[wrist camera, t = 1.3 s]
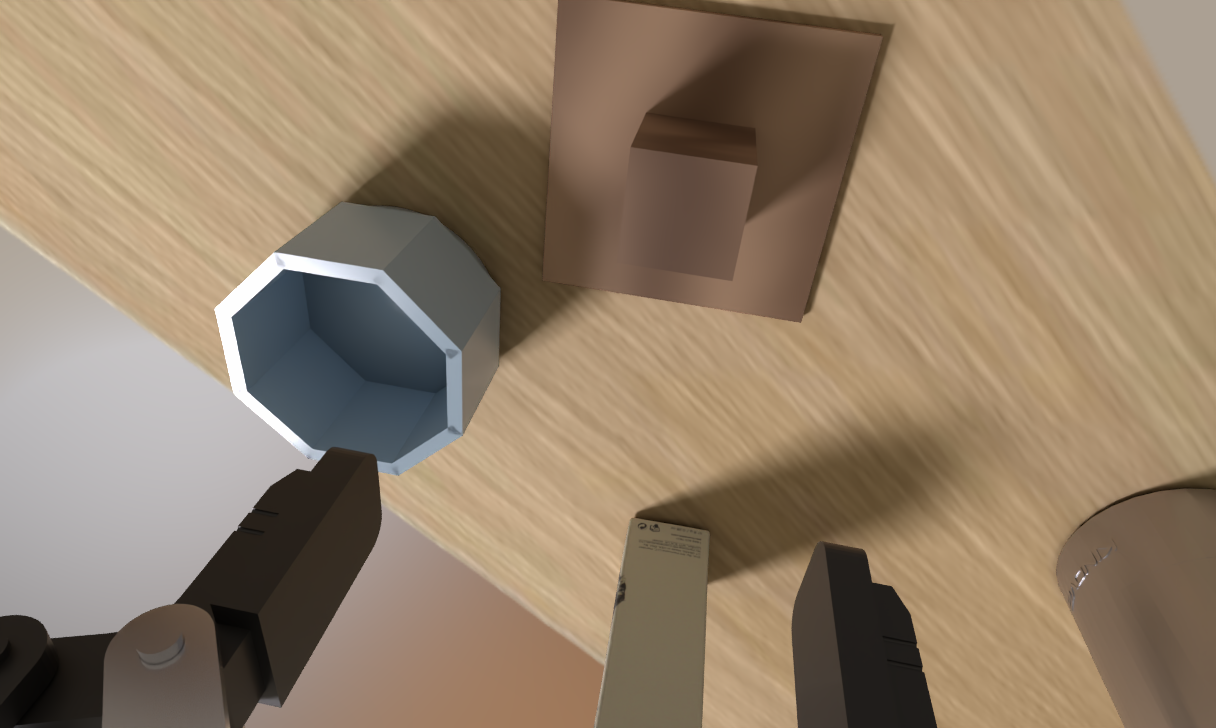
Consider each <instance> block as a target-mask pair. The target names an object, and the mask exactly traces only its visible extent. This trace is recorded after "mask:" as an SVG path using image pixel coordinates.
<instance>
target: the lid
mask: <svg viewBox="0 0 1216 728" xmlns="http://www.w3.org/2000/svg"><path fill="white" fill-rule="evenodd" d="M882 39H883V36H882V35H881V34H873V33H866V32H858V31H850V30H843V29H835V28H828V27H820V26H813V25H805V24H798V23H790V22H782V21H775V20H767V19H760V18H752V17H745V16H737V15H730V14H722V13H714V12H707V11H699V10H692V9H684V8H677V7H669V6H662V5H654V4H646V3H639V2H631V1H624V0H558V13H557V30H556V48H555V66H554V84H553V101H552V119H551V137H550V154H549V172H548V190H547V207H546V225H545V243H544V260H543V278H542V280H543V281H549V282H555V283H561V284H568V285H574V286H580V287H586V288H592V289H598V290H604V291H610V292H617V293H623V294H629V295H635V296H641V297H647V298H653V299H659V300H666V301H672V302H678V303H684V304H690V305H696V306H702V307H708V308H715V309H721V310H727V311H733V312H739V313H745V314H751V315H758V316H764V317H770V318H776V319H782V320H788V321H794V322H800V323H801V321H802V318H803V314H804V311H805V307H806V304H807V300H808V297H809V293H810V290H811V286H812V283H813V279H814V276H815V272H816V269H817V265H818V262H819V258H820V255H821V251H822V248H823V244H824V241H825V237H826V234H827V231H828V227H829V224H830V220H831V217H832V213H833V210H834V206H835V203H836V199H837V196H838V192H839V189H840V185H841V182H842V178H843V175H844V171H845V168H846V164H847V161H848V157H849V154H850V150H851V147H852V143H853V140H854V136H855V133H856V129H857V126H858V123H859V119H860V116H861V112H862V109H863V105H864V102H865V98H866V95H867V91H868V88H869V84H870V81H871V77H872V74H873V70H874V67H875V63H876V60H877V56H878V53H879V49H880V46H881V42H882Z"/></svg>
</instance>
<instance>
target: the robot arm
mask: <svg viewBox="0 0 1216 728" xmlns="http://www.w3.org/2000/svg"><path fill="white" fill-rule="evenodd" d="M381 520H382V510H381V498H380V487H379V476H378V465H377V459H376V457H375V455H374V454H371V453H366V452H360V451H355V450H350V449H345V448H339V447H331V448H330V449H328V450H327V451H326V452H325V454H324V455H323V456H322V458H321V459H320V460H319V462H318V463H317V464H316V466H315V467H314V468H313V469H312V471H311V472H310V471H305V470H300V469H296V470H295V471H294V472H292V473H290V474H289V475H287V476H286V477H284V478H282V479H281V480H279V481H278V482H276V483H275V484H273V485H272V486H270V488H269V489H268V490H267V491H266V492H265V494H264V495H263V496H262V497H261V499H260V500H259V501H258V502H257V504H256V505H255V506H254V507H253V510H252V512H251V513H248V515H247V516H246V517H245V518H244V519H243V521H242V522H241V523H240V524H239V526H238V529H237V531H234V532H233V533H232V534H231V535H230V537H229V538H228V539H227V540H226V542H225V543H224V544H223V545H222V547H221V548H220V549H219V550H218V551H217V553H216V554H215V555H214V556H213V558H212V559H211V560H210V561H209V562H208V564H207V565H206V566H205V567H204V569H203V570H202V571H201V572H200V574H199V575H198V576H197V577H196V578H195V580H194V581H193V582H192V583H191V585H190V586H189V587H188V588H187V589H186V591H185V592H184V593H183V594H182V596H181V597H180V598H179V599H178V600H177V601H176V602H175V603H174V604H172V605H166V606H162V607H158V608H155V609H152V610H150V611H148V612H145V613H143V614H141V615H140V616H138V617H136V618H134V619H133V620H132V621H130V622H129V623H128V624H126V625H125V626H124V627H123V628H122V629H121V630H120V631H119V632H115V633H107V634H96V635H85V636H74V637H63V638H50V637H49V635H48V633H47V631H46V629H45V627H44V625H43V624H41V622H39V621H38V620H36V619H34V618H32V617H28V616H21V615H10V616H2V617H0V728H245V725H244V724H245V723H246V721H247V720H248V718H249V716H250V715H251V713H252V711H253V710H254V708H255V706H256V704H257V703H262V704H266V705H271V706H275V707H280V708H281V707H282V705H283V704H284V702H285V700H286V698H287V697H288V695H289V693H290V691H291V690H292V688H293V686H294V684H295V683H296V681H297V679H298V677H299V676H300V674H301V672H302V670H303V669H304V667H305V665H306V664H307V662H308V660H309V658H310V657H311V655H312V653H313V651H314V650H315V648H316V646H317V644H318V643H319V641H320V639H321V638H322V636H323V634H324V632H325V631H326V629H327V627H328V625H329V624H330V622H331V620H332V618H333V617H334V615H335V613H336V611H337V610H338V608H339V606H340V604H341V603H342V601H343V599H344V597H345V596H346V594H347V592H348V591H349V589H350V587H351V585H352V584H353V582H354V580H355V578H356V577H357V575H358V573H359V571H360V570H361V568H362V566H363V565H364V563H365V561H366V559H367V558H368V556H369V554H370V552H371V551H372V549H373V547H374V545H375V543H376V540H377V537H378V534H379V531H380V526H381ZM1056 575H1057V580H1058V585H1059V587H1060V590H1061V592H1062V594H1063V596H1064V598H1065V600H1066V602H1067V605H1068V607H1069V609H1070V611H1071V613H1072V615H1073V617H1074V619H1075V622H1076V624H1077V626H1078V628H1079V630H1080V632H1081V634H1082V636H1083V639H1084V641H1085V643H1086V645H1087V647H1088V649H1089V651H1090V654H1091V656H1092V659H1093V661H1094V663H1095V665H1096V667H1097V669H1098V671H1099V674H1100V676H1101V678H1102V680H1103V682H1104V684H1105V686H1106V688H1107V691H1108V693H1109V695H1110V697H1111V699H1112V701H1113V703H1114V706H1115V708H1116V710H1117V712H1118V714H1119V716H1120V718H1121V720H1122V723H1123V725H1124V727H1125V728H1216V490H1212V489H1187V488H1185V489H1175V490H1166V491H1159V492H1154V493H1150V494H1146V495H1142V496H1138V497H1134V498H1132V499H1129V500H1127V501H1124V502H1121V503H1119V504H1116V505H1114V506H1111V507H1110V508H1108V509H1106V510H1104V511H1103V512H1101V513H1099V514H1097V515H1096V516H1094V517H1092V518H1091V519H1090V520H1088V521H1087V522H1086V523H1085V524H1083V525H1082V526H1081V527H1080V528H1078V529H1077V530H1076V531H1075V532H1074V534H1073V535H1072V536H1071V537H1070V538H1069V540H1068V541H1067V542H1066V543H1065V545H1064V547H1063V549H1062V551H1061V553H1060V555H1059V557H1058V562H1057V569H1056ZM916 645H917V640H916V636H915V632H914V628H913V623H912V619H911V615H910V613H909V611H908V610H907V608H906V607H905V605H904V604H903V602H902V601H901V599H900V598H899V596H898V595H897V593H896V592H895V590H894V589H893V587H892V586H887V585H882V584H877V583H872V580H871V574H870V569H869V564H868V559H867V555H866V553H865V551H864V550H863V549H859V548H853V547H848V546H843V545H838V544H833V543H827V542H822V541H820V542H818V544H817V545H816V547H815V549H814V552H813V555H812V557H811V560H810V563H809V565H808V568H807V570H806V573H805V576H804V578H803V581H802V583H801V586H800V589H799V591H798V594H797V597H796V600H795V604H794V609H793V616H792V646H793V660H794V675H795V690H796V704H797V719H798V728H937V724H936V720H935V716H934V712H933V708H932V703H931V699H930V695H929V691H928V687H927V682H926V678H925V674H924V672H922V667H923V665H922V661H921V657H920V653H919V649H918V648H917V647H916Z"/></svg>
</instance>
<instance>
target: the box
mask: <svg viewBox="0 0 1216 728" xmlns="http://www.w3.org/2000/svg"><path fill="white" fill-rule="evenodd" d="M709 541H710V532H709V531H707V530H700V529H695V528H690V527H684V526H679V525H673V524H667V523H661V522H656V521H650V520H644V519H639V518H632V519H631V520H630V522H629V526H628V531H627V536H626V541H625V546H624V551H623V557H622V563H621V569H620V575H619V581H618V587H617V593H616V599H615V605H614V611H613V618H612V624H611V630H610V636H609V642H608V648H607V654H606V660H605V666H604V673H603V679H602V684H601V690H600V696H599V702H598V708H597V713H596V719H595V724H594V728H702V714H703V689H704V662H705V637H706V607H707V581H708V559H709Z"/></svg>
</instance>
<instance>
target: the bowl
mask: <svg viewBox="0 0 1216 728" xmlns="http://www.w3.org/2000/svg"><path fill="white" fill-rule="evenodd" d="M500 293H501V288H500V287H499V286H498V285H497V284H496V283H495V282H494V281H493V280H492V278H491V277H490V275H489V273H488V271H487V269H486V268H485V266H484V265H483V263H482V261H481V260H480V258H479V257H478V256H477V255H476V253H475V252H474V251H473V250H472V249H471V247H470V246H468V245H467V244H466V243H465V242H464V241H463V240H462V239H461V238H460V237H459V236H458V235H457V234H455V233H454V232H453V231H451V230H450V229H449V228H447V227H446V226H444V225H443V224H442V223H441V222H440V221H439V220H438V219H437V218H436V217H435V216H430V215H423V214H421V213H418V212H415V211H412V210H409V209H404V208H400V207H394V206H383V205H382V206H367V205H360V204H354V203H348V202H340V203H339V204H338V205H336V206H335V207H334V208H332V209H331V210H330V211H328V212H327V213H326V214H324V215H323V216H322V217H320V218H319V219H318V220H316V221H315V222H314V223H312V224H311V225H310V226H308V227H307V228H306V229H304V230H303V231H302V232H300V233H299V234H298V235H296V236H295V237H294V238H292V239H291V240H290V241H288V242H287V243H286V244H284V245H283V246H282V247H280V248H279V249H278V250H276V251H275V252H274V253H273V254H272V255H271V256H270V257H269V258H268V259H267V260H266V261H265V262H264V263H263V264H262V265H260V266H259V267H258V268H257V269H256V270H255V271H254V272H253V273H252V274H251V275H250V276H249V277H248V278H247V279H246V280H245V281H244V282H243V283H241V284H240V285H239V286H238V287H237V288H236V289H235V290H234V291H233V292H232V293H231V294H230V295H229V296H228V297H227V298H226V299H225V300H224V301H223V302H221V303H220V304H219V305H218V306H217V307H216V308H215V312H216V317H217V321H218V325H219V330H220V334H221V339H222V343H223V348H224V352H225V357H226V361H227V366H228V370H229V374H230V379H231V383H232V388H233V392H234V395H236V396H237V397H238V398H239V399H240V400H241V401H242V402H244V403H245V404H246V405H247V406H248V407H249V408H251V409H252V410H253V411H254V412H255V413H256V414H257V415H259V416H260V417H261V418H262V419H263V420H264V421H266V422H267V423H268V424H269V425H270V426H271V427H273V428H274V429H275V430H276V431H277V432H278V433H279V434H281V435H282V436H283V437H284V438H285V439H286V440H288V441H289V442H290V443H291V444H292V445H293V446H294V447H296V448H297V449H298V450H299V451H300V452H301V453H302V454H304V455H305V456H306V457H307V458H308V459H313V460H318V461H319V460H320V459H321V458H322V456H323V455H324V454H325V452H326V451H327V450H328V449H330V448H331V447H339V448H345V449H350V450H355V451H360V452H366V453H371V454H374V455H375V457H376V459H377V465H378V472H382V473H388V474H393V475H398V476H399V475H400V474H402V473H403V472H405V471H406V470H408V469H410V468H411V467H413V466H414V465H416V464H418V463H419V462H421V461H422V460H424V459H426V458H427V457H429V456H430V455H432V454H434V453H435V452H437V451H438V450H440V449H442V448H443V447H445V446H446V445H448V444H450V443H451V442H453V441H454V440H456V439H458V438H459V437H461V436H463V434H464V432H465V430H466V428H467V426H468V424H469V422H470V420H471V418H472V416H473V415H474V413H475V411H476V409H477V407H478V405H479V403H480V401H481V399H482V397H483V395H484V393H485V391H486V390H487V388H488V386H489V384H490V382H491V380H492V378H493V376H494V374H495V372H496V370H497V368H498V366H499V335H500Z"/></svg>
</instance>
